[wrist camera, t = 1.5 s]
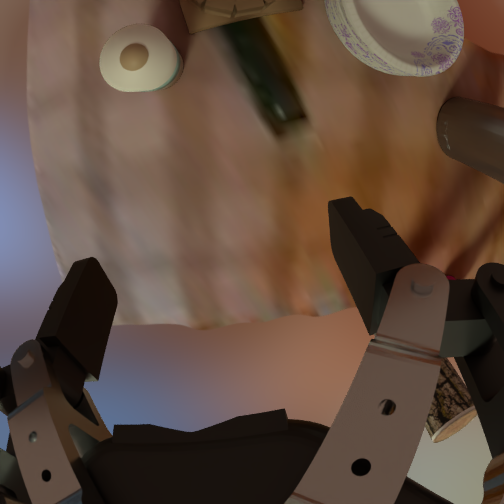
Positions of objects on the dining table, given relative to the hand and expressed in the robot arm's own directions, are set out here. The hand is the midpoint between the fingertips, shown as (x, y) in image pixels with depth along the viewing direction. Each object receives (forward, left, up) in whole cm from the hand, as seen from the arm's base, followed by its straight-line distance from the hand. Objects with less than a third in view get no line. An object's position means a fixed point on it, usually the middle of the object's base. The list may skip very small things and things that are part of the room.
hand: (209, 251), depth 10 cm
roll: (+2, -9, -25) cm, 26 cm away
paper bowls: (-23, -10, -25) cm, 35 cm away
